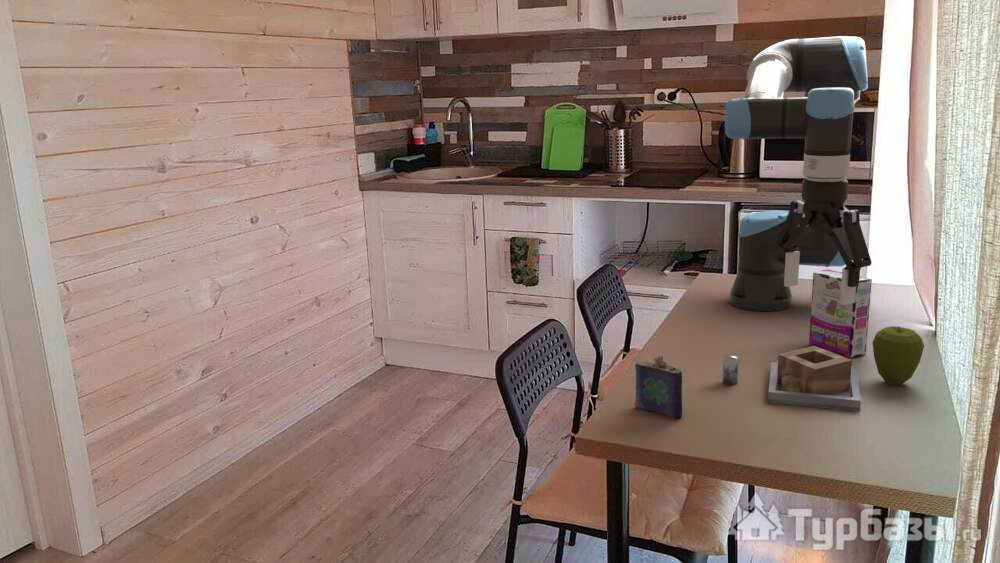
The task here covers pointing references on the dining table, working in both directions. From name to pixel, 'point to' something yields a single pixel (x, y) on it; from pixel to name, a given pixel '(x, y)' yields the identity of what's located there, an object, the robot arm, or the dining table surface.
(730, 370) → the silver capsule
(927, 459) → the dining table surface
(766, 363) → the dining table surface
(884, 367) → the apple
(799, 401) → the tray
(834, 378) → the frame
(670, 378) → the flask
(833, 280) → the candy bar box
